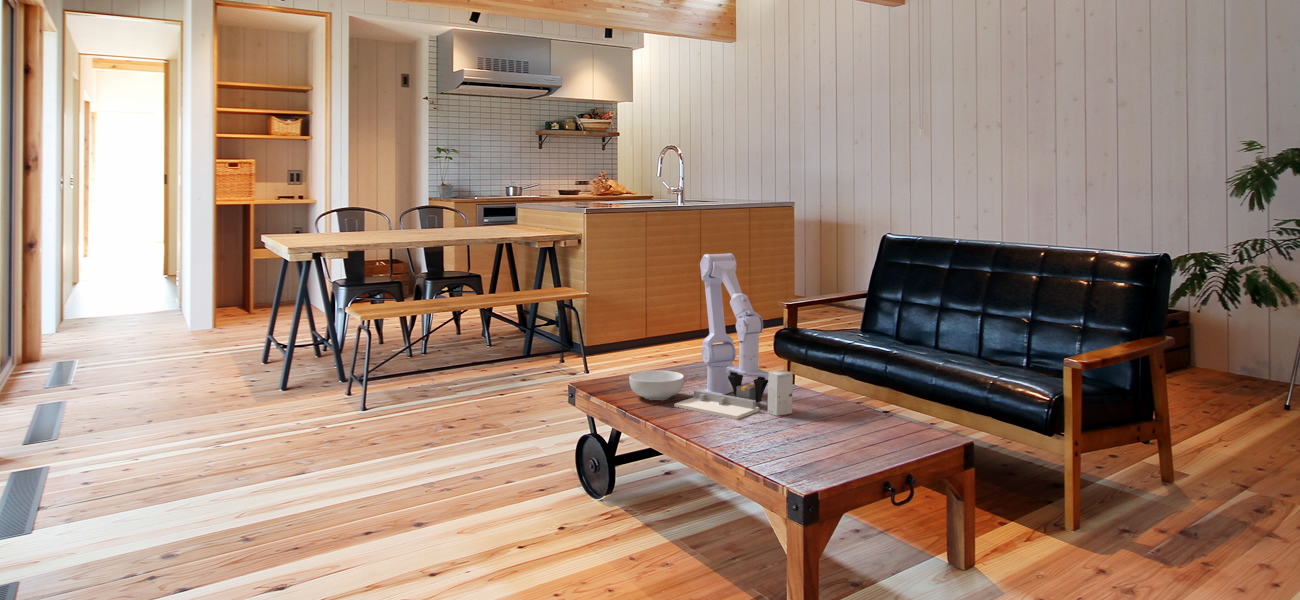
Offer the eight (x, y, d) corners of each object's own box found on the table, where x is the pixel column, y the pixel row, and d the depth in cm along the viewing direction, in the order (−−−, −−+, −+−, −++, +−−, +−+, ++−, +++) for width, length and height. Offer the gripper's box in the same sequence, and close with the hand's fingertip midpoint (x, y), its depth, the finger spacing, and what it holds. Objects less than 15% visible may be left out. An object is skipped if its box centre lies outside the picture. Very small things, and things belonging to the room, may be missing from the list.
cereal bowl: (685, 391, 271) (685, 370, 270) (682, 405, 255) (682, 382, 254) (632, 390, 273) (632, 368, 272) (626, 403, 257) (626, 381, 256)
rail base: (697, 398, 262) (697, 388, 262) (759, 410, 249) (759, 400, 248) (674, 406, 253) (674, 396, 253) (737, 419, 239) (737, 408, 239)
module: (747, 401, 259) (747, 382, 258) (759, 404, 256) (760, 384, 255) (736, 406, 254) (736, 386, 253) (749, 408, 251) (749, 388, 251)
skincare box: (777, 416, 243) (777, 375, 241) (766, 412, 246) (767, 372, 245) (793, 413, 246) (794, 372, 244) (782, 409, 250) (783, 369, 248)
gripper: (721, 354, 254) (720, 398, 256) (762, 360, 246) (762, 406, 247) (733, 350, 260) (733, 393, 262) (775, 356, 251) (774, 401, 253)
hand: (748, 399), depth 255 cm, fingers open, 7 cm apart
